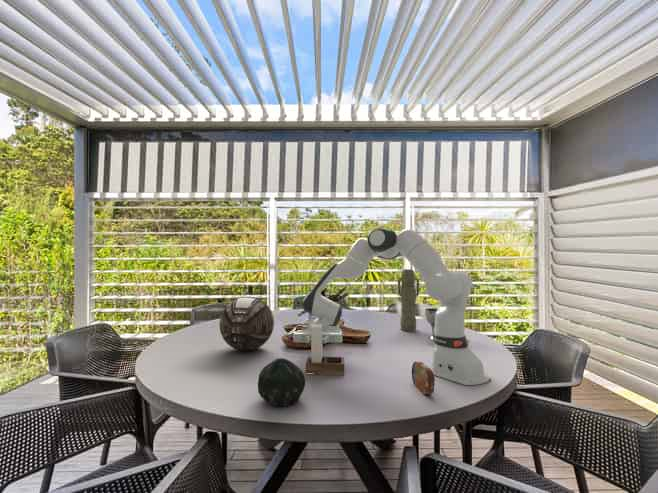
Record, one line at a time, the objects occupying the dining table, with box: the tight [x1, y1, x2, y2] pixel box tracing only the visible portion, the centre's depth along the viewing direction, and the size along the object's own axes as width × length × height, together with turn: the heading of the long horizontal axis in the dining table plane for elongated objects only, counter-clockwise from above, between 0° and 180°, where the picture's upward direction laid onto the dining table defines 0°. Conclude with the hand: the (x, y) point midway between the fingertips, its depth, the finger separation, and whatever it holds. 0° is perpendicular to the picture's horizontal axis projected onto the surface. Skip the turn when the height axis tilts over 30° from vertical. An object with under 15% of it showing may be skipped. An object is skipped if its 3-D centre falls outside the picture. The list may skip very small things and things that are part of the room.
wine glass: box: [424, 307, 438, 341], centre depth 191 cm, size 8×8×15 cm
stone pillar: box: [397, 268, 420, 333], centre depth 209 cm, size 9×12×35 cm
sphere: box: [219, 296, 275, 352], centre depth 170 cm, size 25×25×25 cm
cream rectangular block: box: [310, 323, 323, 363], centre depth 142 cm, size 5×4×15 cm
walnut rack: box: [305, 356, 345, 375], centre depth 142 cm, size 9×15×4 cm, turn 88°
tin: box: [411, 361, 436, 395], centre depth 123 cm, size 15×3×8 cm, turn 7°
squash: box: [257, 357, 306, 407], centre depth 114 cm, size 14×15×15 cm
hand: (316, 341), depth 141 cm, fingers closed on cream rectangular block, 4 cm apart
